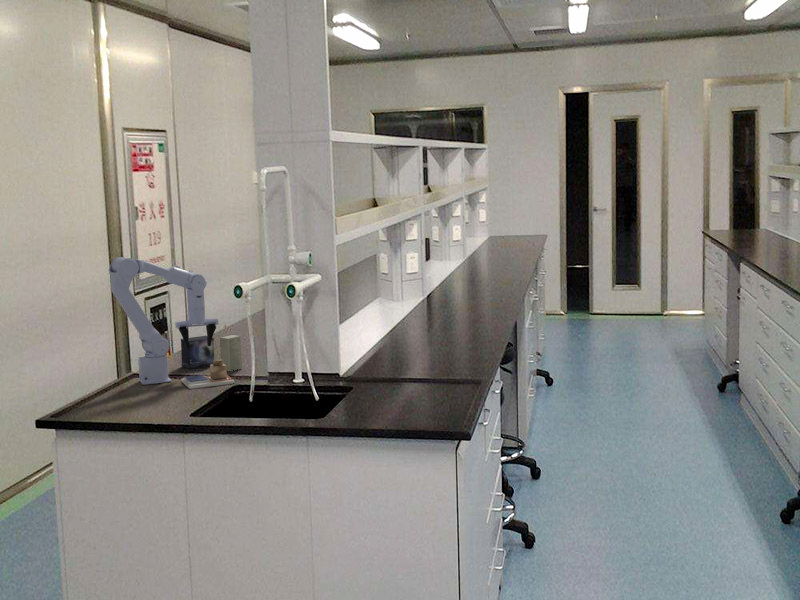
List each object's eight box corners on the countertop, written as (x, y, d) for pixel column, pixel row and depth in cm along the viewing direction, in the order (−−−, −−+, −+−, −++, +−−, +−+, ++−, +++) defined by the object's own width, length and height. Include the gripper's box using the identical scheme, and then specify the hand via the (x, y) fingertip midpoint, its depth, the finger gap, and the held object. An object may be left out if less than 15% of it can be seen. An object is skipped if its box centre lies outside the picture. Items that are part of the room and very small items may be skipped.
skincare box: (234, 367, 311) (233, 334, 309) (242, 368, 308) (241, 335, 306) (220, 370, 306) (219, 337, 304) (228, 372, 303) (227, 338, 302)
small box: (189, 369, 309) (187, 341, 307) (181, 366, 314) (179, 338, 312) (215, 365, 315) (214, 337, 314) (207, 362, 320) (206, 335, 319)
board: (189, 388, 279) (189, 382, 278) (181, 381, 289) (181, 375, 289) (234, 383, 285) (234, 377, 285) (225, 376, 296) (225, 370, 296)
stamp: (213, 380, 286) (213, 362, 285) (210, 377, 290) (209, 359, 289) (226, 378, 288) (226, 360, 287) (223, 376, 292) (222, 358, 291)
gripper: (177, 311, 290) (179, 350, 292) (219, 307, 296) (221, 346, 298) (173, 308, 296) (175, 347, 298) (214, 305, 303) (216, 343, 305)
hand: (198, 346), depth 299 cm, fingers open, 7 cm apart
